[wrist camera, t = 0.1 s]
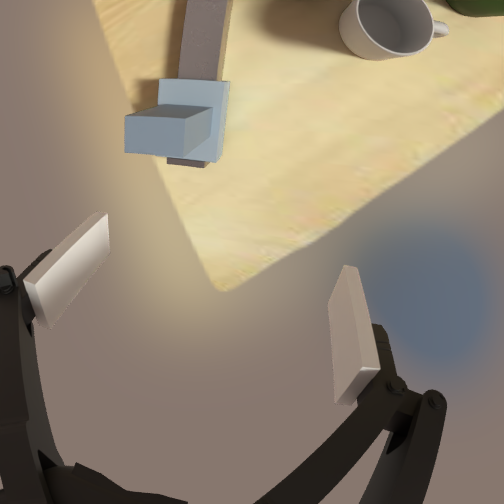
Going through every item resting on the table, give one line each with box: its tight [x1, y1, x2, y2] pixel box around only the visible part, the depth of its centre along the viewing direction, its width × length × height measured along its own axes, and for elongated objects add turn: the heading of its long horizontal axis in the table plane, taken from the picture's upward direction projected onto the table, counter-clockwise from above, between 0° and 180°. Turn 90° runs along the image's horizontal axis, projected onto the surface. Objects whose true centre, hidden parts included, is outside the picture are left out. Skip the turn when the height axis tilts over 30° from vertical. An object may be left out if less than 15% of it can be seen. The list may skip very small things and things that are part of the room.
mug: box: [339, 0, 449, 61], centre depth 24 cm, size 12×8×11 cm
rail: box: [167, 0, 233, 168], centre depth 32 cm, size 26×5×5 cm, turn 173°
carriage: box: [125, 78, 230, 163], centre depth 31 cm, size 10×8×14 cm
